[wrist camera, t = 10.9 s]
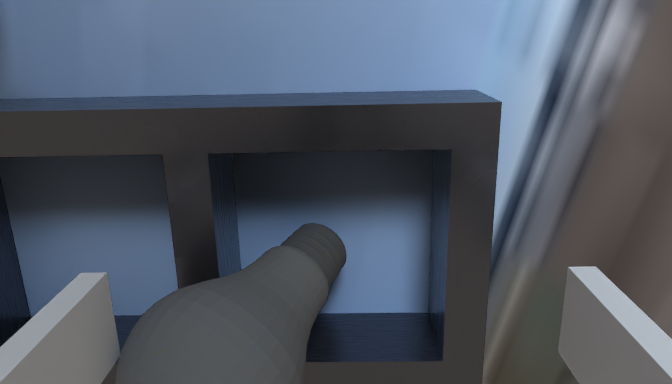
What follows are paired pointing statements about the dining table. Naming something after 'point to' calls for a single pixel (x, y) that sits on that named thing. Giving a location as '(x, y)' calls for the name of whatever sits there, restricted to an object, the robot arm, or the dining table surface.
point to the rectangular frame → (294, 136)
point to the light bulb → (238, 320)
